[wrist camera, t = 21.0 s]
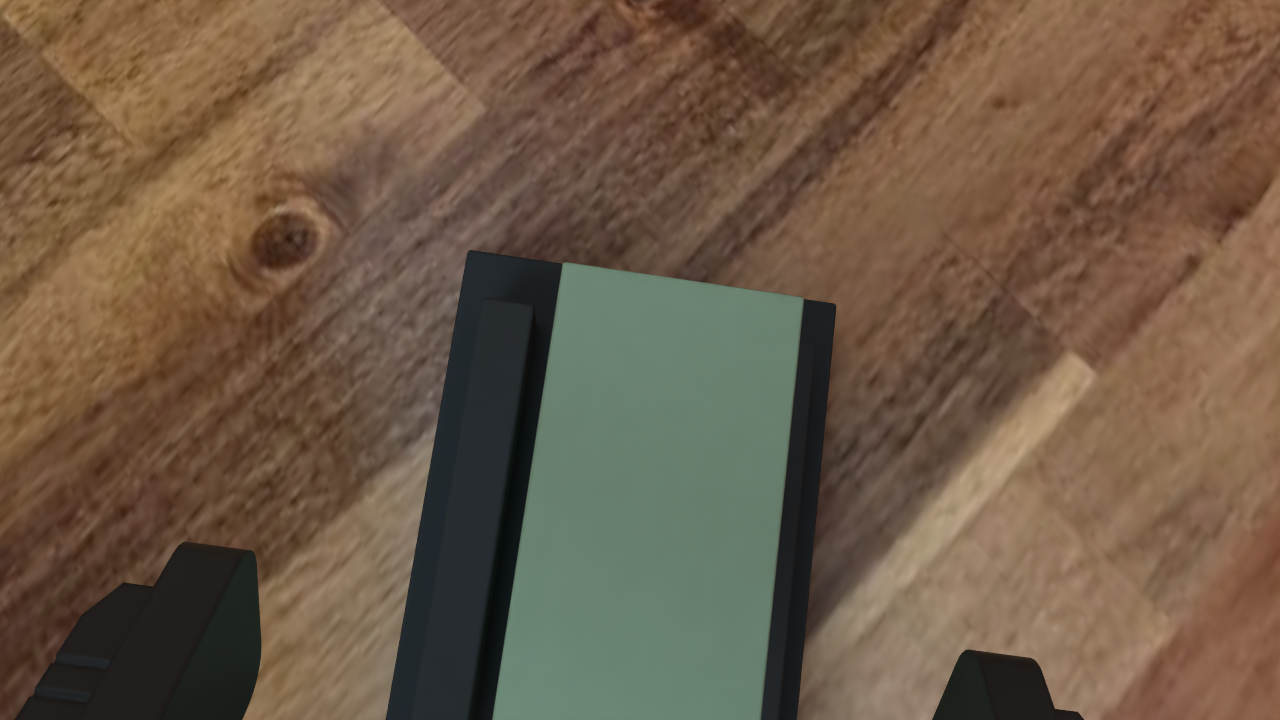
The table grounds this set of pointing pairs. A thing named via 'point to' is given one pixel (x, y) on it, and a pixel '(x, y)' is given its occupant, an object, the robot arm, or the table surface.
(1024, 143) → the table surface
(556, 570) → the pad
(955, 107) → the table surface
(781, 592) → the base pad
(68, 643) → the robot arm
